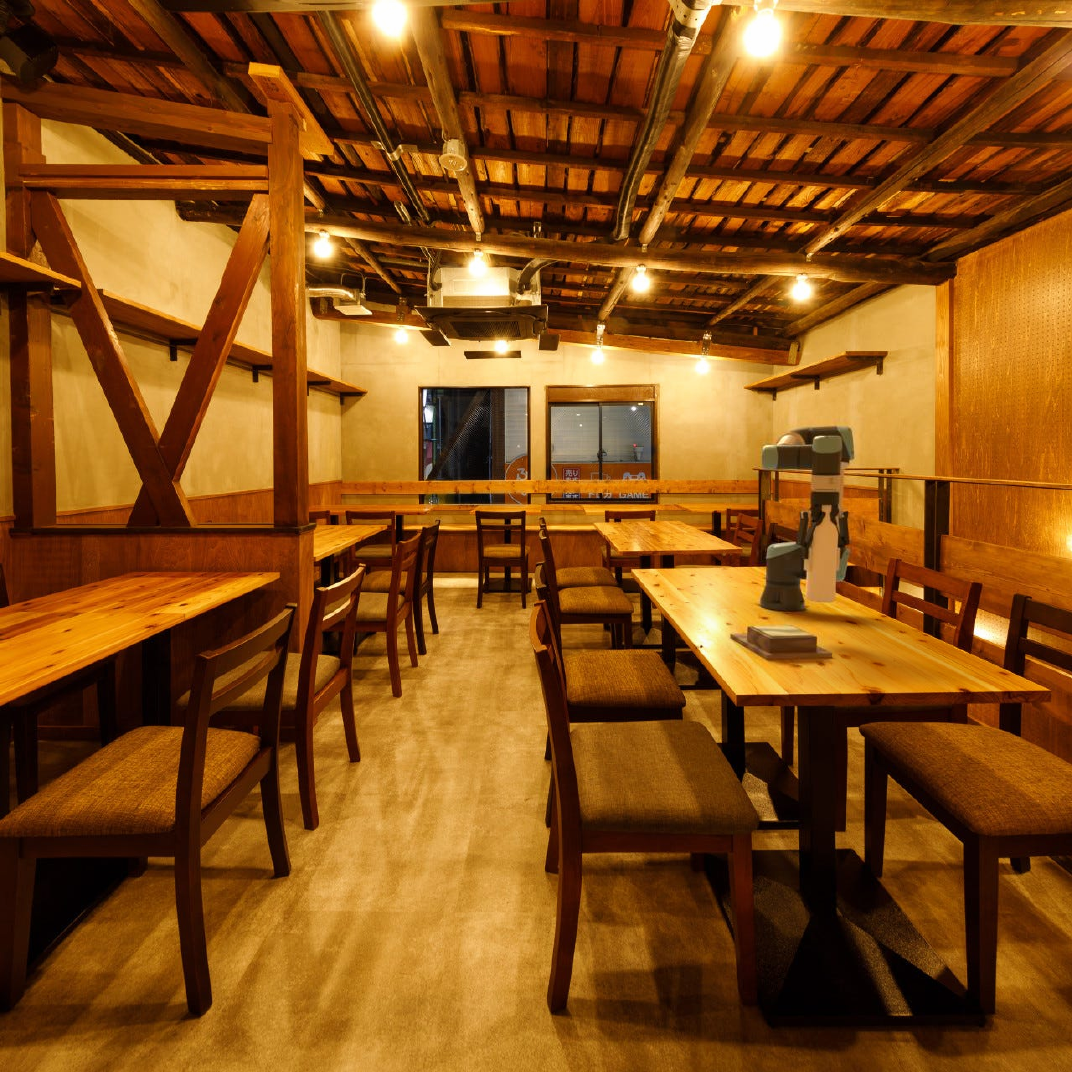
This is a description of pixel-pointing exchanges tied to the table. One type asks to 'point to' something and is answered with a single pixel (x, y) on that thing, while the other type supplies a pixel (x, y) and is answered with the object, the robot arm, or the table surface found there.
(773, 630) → the stand
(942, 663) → the table surface
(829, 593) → the bottle
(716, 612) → the table surface
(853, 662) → the table surface
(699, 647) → the table surface
